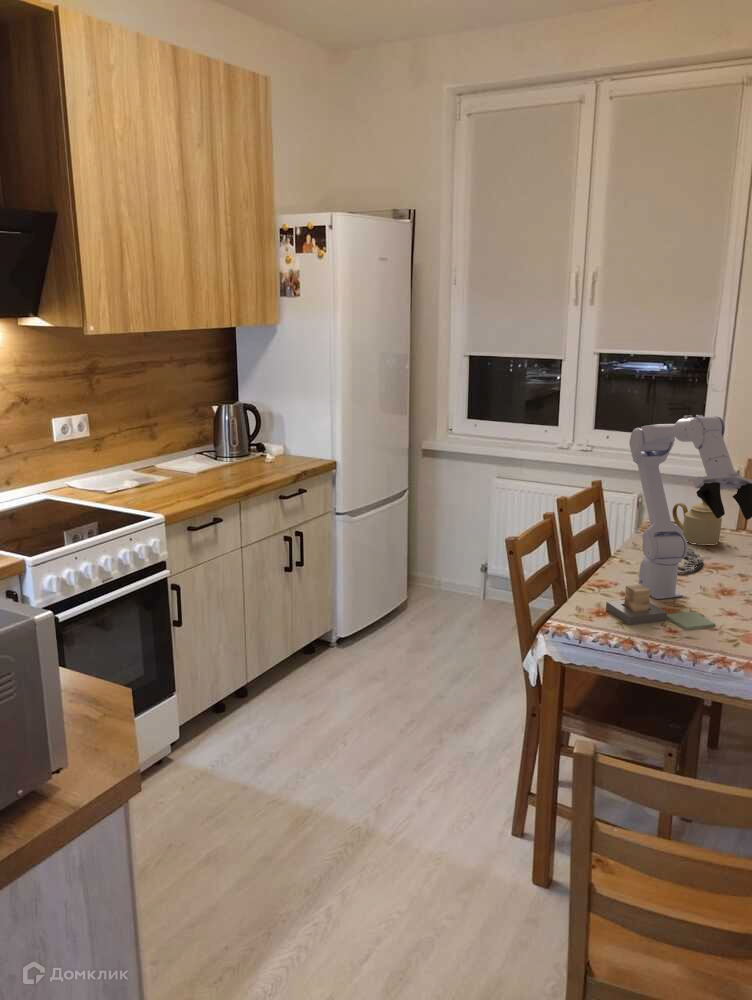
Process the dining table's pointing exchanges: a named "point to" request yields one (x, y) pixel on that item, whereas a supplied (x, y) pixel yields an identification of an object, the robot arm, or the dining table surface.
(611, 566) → the dining table surface
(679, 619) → the green mat
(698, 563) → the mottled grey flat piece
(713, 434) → the robot arm
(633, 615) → the pocket plate
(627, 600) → the beech block
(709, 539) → the olive yellow teapot
